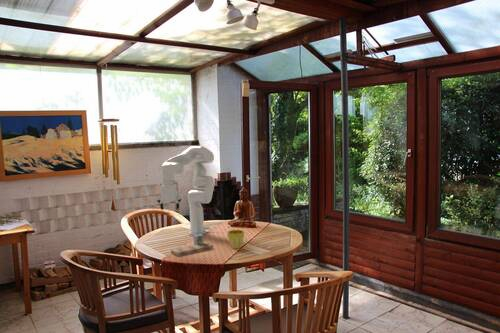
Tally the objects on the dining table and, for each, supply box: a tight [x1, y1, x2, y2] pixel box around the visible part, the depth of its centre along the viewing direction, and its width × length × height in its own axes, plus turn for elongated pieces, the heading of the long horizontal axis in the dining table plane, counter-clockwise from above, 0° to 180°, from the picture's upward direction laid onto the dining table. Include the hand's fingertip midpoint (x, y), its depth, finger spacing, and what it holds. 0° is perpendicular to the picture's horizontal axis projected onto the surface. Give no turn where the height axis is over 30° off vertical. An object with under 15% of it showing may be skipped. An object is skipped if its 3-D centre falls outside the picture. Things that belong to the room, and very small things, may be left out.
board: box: [170, 243, 214, 257], centre depth 250 cm, size 24×9×2 cm, turn 126°
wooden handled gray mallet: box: [193, 234, 210, 246], centre depth 256 cm, size 5×13×7 cm, turn 36°
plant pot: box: [227, 229, 245, 249], centre depth 254 cm, size 10×10×10 cm
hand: (169, 209), depth 262 cm, fingers open, 9 cm apart
